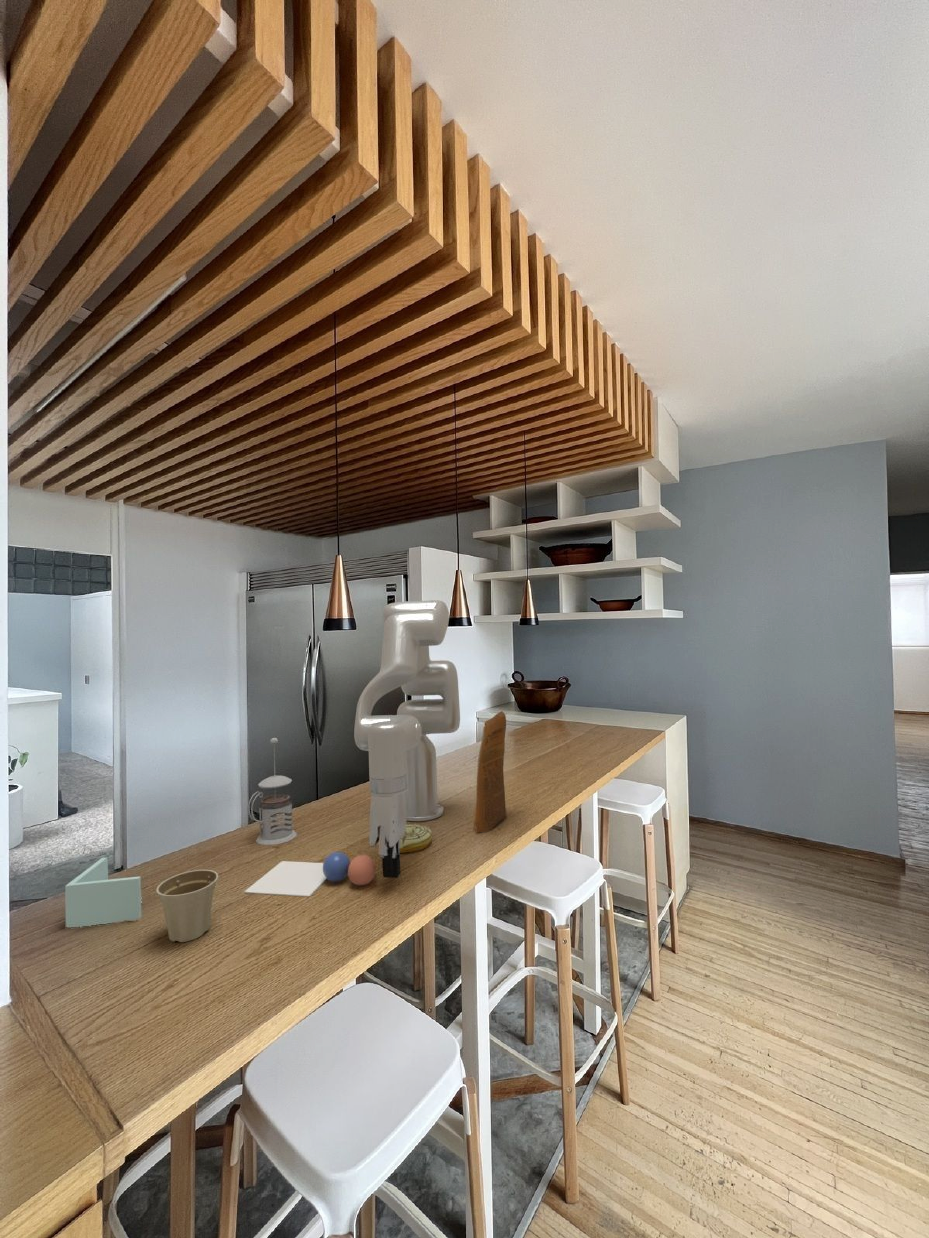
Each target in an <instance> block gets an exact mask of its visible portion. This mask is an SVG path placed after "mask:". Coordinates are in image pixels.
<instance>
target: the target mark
mask: <svg viewBox="0 0 929 1238" xmlns="http://www.w3.org/2000/svg"><path fill="white" fill-rule="evenodd" d="M323 863H324V862H305V861H284V860H281V861H280V862H279V863H278V864H276V865H275V866H274V867H273V868H272V869H270V870H269V871H268V872H267V873H265V874H264V875H263V876H261V878H259V879H258V880H256V881H255V882H254V883H253V884H252V885H251V886H249V887H248V888H246V889H245V890H244V891H243V893H244V894H255V895H257V894H258V895H272V896H289V897H290V896H291V897H294V896H295V897H306V898H307V897H309V898H310V897H311V896H312V895H313V894H314V893H315V892H316V891H317V889H319V888H320V887H321V886H322V885H323V884H324V882H326V880H328V879H327V878H326V877H325V875H324V873H323Z"/></svg>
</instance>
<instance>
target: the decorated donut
mask: <svg viewBox="0 0 929 1238" xmlns="http://www.w3.org/2000/svg"><path fill="white" fill-rule="evenodd" d="M432 831H433V830H432V829H430V828H429V827H427V826H425V825H423V824H422V825H421V824H415V823H412V824H411V823H410V824H407V825H406V831H405V833H404V834H403V836H402V837H401V838H400V853H399V854H405V853H406V852H411V853H414V851H415V852H418V851H420V850H424V849H426V848H427V847H428V846H429V845H430V843H431V842H432V839H433V835H432V834H433V833H432Z"/></svg>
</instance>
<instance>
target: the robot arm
mask: <svg viewBox="0 0 929 1238" xmlns="http://www.w3.org/2000/svg"><path fill="white" fill-rule="evenodd" d="M448 608H449V607H448V605H447V604H446V602H444V601H443V600H436V599H435V600H412V601H411V600H408V601H406V600H405V601H396V602H391V603H387V605H385V606H384V607H383V609H382V619H383V622H384V626H383V635H382V636H383V637H382V649H381V660H380V669H379V672H378V673H377V674H376V675H375V676H374V677H373V678H372V679H371V680H370V681H369V682H368V684H367V685H366V686H365V688H364V689H363V691H362V692H361V694H360V696H359V699H358V701H357V705H356V713H355V718H354V719H355V720H354V730H353V732H354V734H353V737H354V742H355V745H356V746H357V747H358V749H359V750H361V751H365V752H368V768H369V769H368V772H369V773H368V775H369V776H368V777H369V794H370V795H371V798H370V806H369V807H370V808H369V846H370V847H371V848H374V847H375V846H376V845H377V844H378V857H381V863H382V864H381V865H382V877H383V878H388V879H398V878H399V876H400V875H401V872H402V871H401V870H402V869H401V853H400V838H401V837H402V836H403V834H404V833H405V831H406V825H408V824H407V821H408V822H409V821H410V822H425V821H433V820H434V819H438V818H440V817H441V816H443V815H444V813H445V811H444V806H442V805H440V804H439V798H438V771H437V752H436V747H435V745H434V743H433V742H432V740H431V739H430V738H429V737H428V735H430V734H431V735H433V734H436V735H437V734H439V735H440V734H452V733H455V732H457V731H458V729H459V728H460V724H461V708H460V692H459V691H460V689H459V678H458V672H457V671H458V670H457V668H456V666H455V664H454V663H453V662H452V661H450V660H441V659H440V660H431V659H430V658H431V657H430V647H432V646H433V647H434V646H440V645H441V644H442V643H443V641H444V640H445V637H446V634H447V630H448V627H449V621H450V612H449V609H448ZM399 687H400V688H401V690H402V692H403V693H404V694H405V695H407V696H413V697H414V696H417V697H418V696H420V697H421V696H422V697H423V696H440V697H441V698H431V699H429V698H424V699H419V698H418V699H410V700H406V701H404V702H402V703H400V704H399V706H398V708H397V711H396V714H395V715H394V714H385V715H380V714H379V715H371V714H372V711H373V709H374V706H375V705H376V703H377V702H378V701H379V700H380V699H381V698H382V697H383V696H385V695H386V694H388V693H390V692H391V691H394V690H396V689H398V688H399Z"/></svg>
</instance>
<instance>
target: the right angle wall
mask: <svg viewBox="0 0 929 1238" xmlns="http://www.w3.org/2000/svg"><path fill="white" fill-rule="evenodd" d="M108 859H109V858H108V857H101V858H100V859H99V860H97V861H96V862H95V863H93V864H92V865H91V866H90V867H88V868H87V869H85V870H84V871H83V872H82V873H80V874H79V875H77V876H76V877H75V878H73V879H72V880H71V881H70V882H68V883H67V884H65V886H64V887H65V888H64V890H65V891H64V893H65V896H64V897H65V898H64V899H65V903H64V904H65V905H64V906H65V928H66V927H79V926H80V928H83V927H82V926H89V927H92V926H91V925H96V924H97V925H98V924H107V923H112V922H118V921H124V920H135V919H139V918H140V917H141V918H142V905H141V903H142V902H143V903H144V901H143V900H142V899H143V898H142V896H143V893H142V883H141V882H142V879H141V877H142V876H133V877H132V876H131V877H130V876H129V877H122V878H121V877H119V878H112V879H109V860H108ZM141 900H142V901H141ZM143 903H142V904H143ZM107 925H108V924H107ZM98 926H99V925H98Z"/></svg>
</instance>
